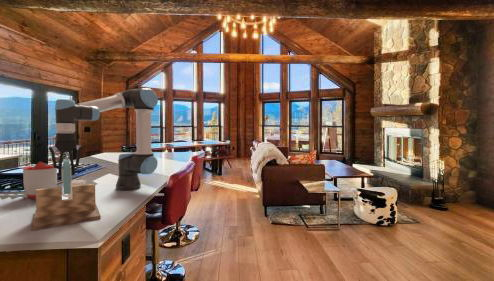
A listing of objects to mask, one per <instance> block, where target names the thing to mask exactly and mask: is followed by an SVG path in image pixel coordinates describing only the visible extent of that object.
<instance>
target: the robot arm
mask: <svg viewBox="0 0 494 281" xmlns="http://www.w3.org/2000/svg"><path fill="white" fill-rule="evenodd" d="M158 103H159V99H158V96H157V93H156V92H155V91H154V90H153V89H151V88H146V87H145V88H132V89H127V90H123V91H120V92H117V93H114V94H113V95H110V96H107V97H102V98H97V99H93V100H88V101H85V102H84V101H83V102H79V103H76V101H75V100H74V99H66V98H62V99H61V98H60V99H56V100H55V106H54V111H55V112H54V113H55V132H56V133H55V143H54V145H52V146H49V147H48V150H49V151H50V155H51V160H52V165H53V167H54V168H57V176H59V177H61V184H64V178H63V168H62V167H63V160H64V159H63V158H64V154H65V153H68V156H69V162H70V181H71V182H72V180H73V179H72V176H74V175H75V168H77V167H79V166H80V158H81V151H82V150H83V146H82V145H78V144H77V142H76V133H75V132H76V121H84V122H85V121H87V122H88V121H90V122H92V121H93V122H94V121H98V120H99V118H100V116H101V113H103V112H107V111H110V110H114V109H124V108H133V110H134V111H135V113H136V150H135V151H134V152H127V153H121V154H119V155H118V160H117V161H118V164H117V165H118V177H117V180H116V184H115V189H116V190H117V191H133V190H137V189H140V188H141V186H142V185H141V184H142V183H141V180H140V178H139V174H141V175H151V174H153V173H155V171H156V169H157V168H158V158H156V156H155V154H154V152H153V151H152V113H153V112H154V109H155V107H157V105H158ZM56 149H57V150H58V151H59V152H60V153H59V161H58V164H57V159H56V154H55V151H56ZM74 149H76V150H77V151H76V157H75V162H74V158H73V151H74Z"/></svg>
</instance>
